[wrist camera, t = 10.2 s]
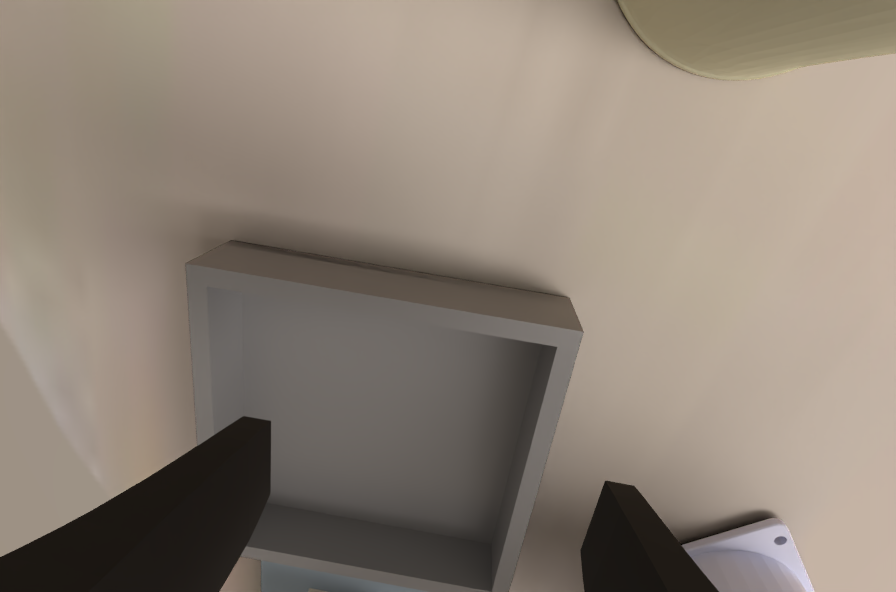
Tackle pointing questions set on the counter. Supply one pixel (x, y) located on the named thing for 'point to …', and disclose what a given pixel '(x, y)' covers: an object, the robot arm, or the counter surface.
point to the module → (315, 590)
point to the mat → (317, 581)
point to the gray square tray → (383, 409)
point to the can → (761, 33)
